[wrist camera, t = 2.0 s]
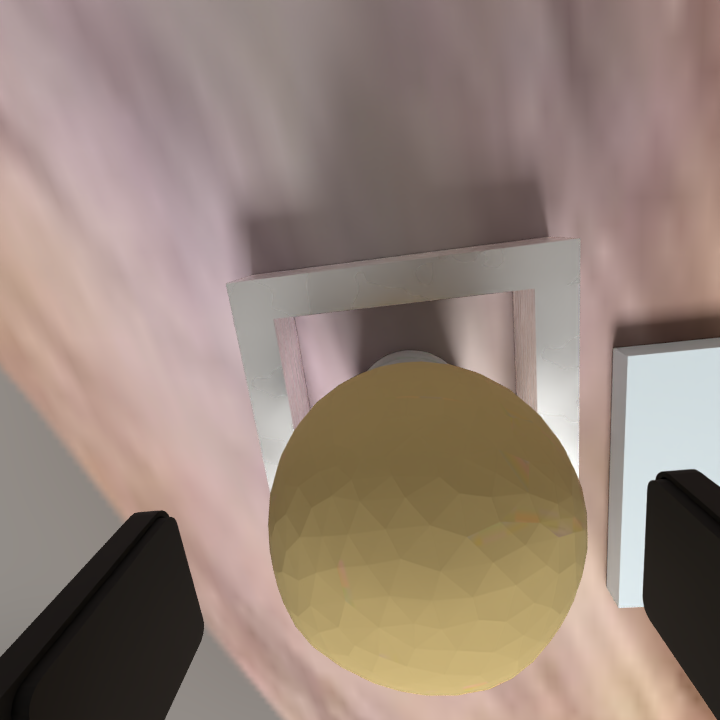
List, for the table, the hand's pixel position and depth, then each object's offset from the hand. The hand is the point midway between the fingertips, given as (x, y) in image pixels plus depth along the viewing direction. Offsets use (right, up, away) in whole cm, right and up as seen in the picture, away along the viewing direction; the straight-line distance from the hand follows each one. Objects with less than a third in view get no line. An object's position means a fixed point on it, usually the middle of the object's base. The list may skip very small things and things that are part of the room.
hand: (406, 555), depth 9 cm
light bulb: (+1, +3, +8) cm, 8 cm away
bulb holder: (+1, +3, +7) cm, 8 cm away
